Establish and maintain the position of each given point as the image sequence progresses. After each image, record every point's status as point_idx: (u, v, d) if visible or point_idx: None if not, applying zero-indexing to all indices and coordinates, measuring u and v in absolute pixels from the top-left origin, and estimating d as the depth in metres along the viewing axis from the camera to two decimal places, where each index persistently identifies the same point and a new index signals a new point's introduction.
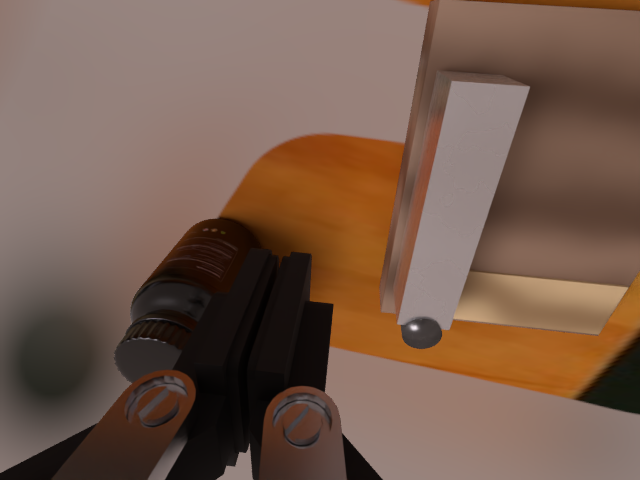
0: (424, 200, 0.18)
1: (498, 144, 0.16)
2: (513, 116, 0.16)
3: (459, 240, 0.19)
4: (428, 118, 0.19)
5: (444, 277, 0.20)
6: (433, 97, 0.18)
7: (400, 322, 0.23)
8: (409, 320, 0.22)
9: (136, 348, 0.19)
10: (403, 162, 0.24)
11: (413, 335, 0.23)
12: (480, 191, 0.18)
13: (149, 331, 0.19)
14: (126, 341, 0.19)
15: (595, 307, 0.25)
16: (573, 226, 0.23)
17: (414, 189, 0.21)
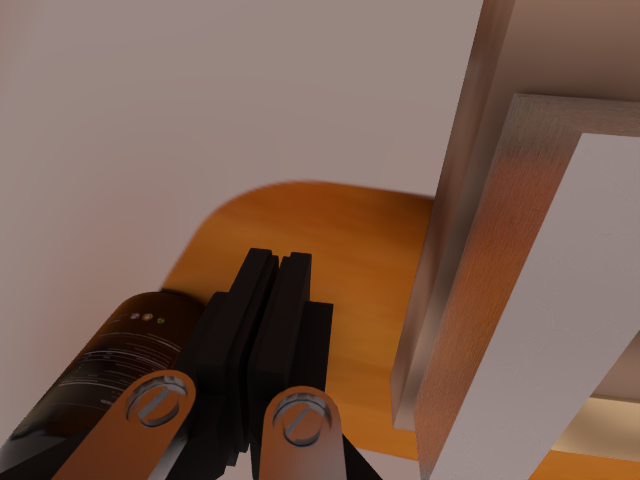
0: (486, 342, 0.10)
1: None
2: None
3: (545, 404, 0.10)
4: (490, 178, 0.11)
5: (509, 448, 0.12)
6: (505, 144, 0.10)
7: None
8: None
9: None
10: (432, 227, 0.15)
11: None
12: (602, 336, 0.09)
13: None
14: None
15: None
16: None
17: (456, 289, 0.12)
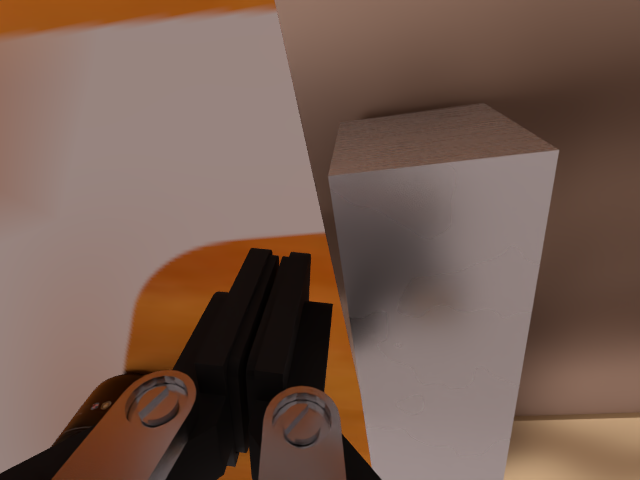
0: None
1: (501, 294, 0.06)
2: (526, 230, 0.06)
3: (463, 463, 0.09)
4: None
5: None
6: None
7: None
8: None
9: None
10: None
11: None
12: (483, 384, 0.07)
13: None
14: None
15: None
16: None
17: None
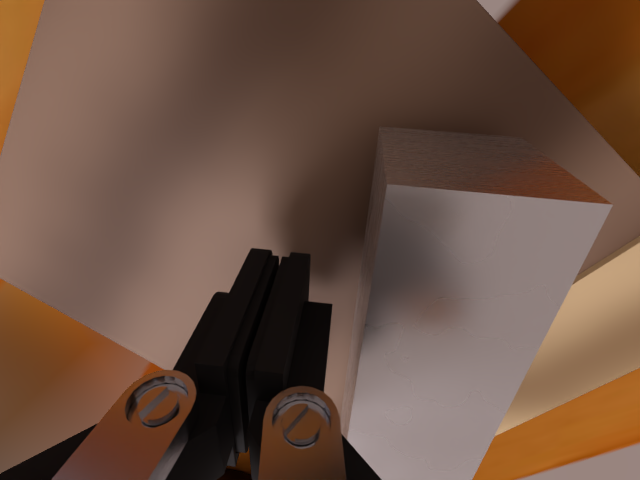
0: (351, 409, 0.08)
1: (517, 327, 0.06)
2: (559, 272, 0.06)
3: (431, 476, 0.09)
4: (368, 219, 0.09)
5: None
6: (373, 182, 0.09)
7: None
8: None
9: None
10: None
11: None
12: (473, 407, 0.08)
13: None
14: None
15: None
16: None
17: (352, 336, 0.11)
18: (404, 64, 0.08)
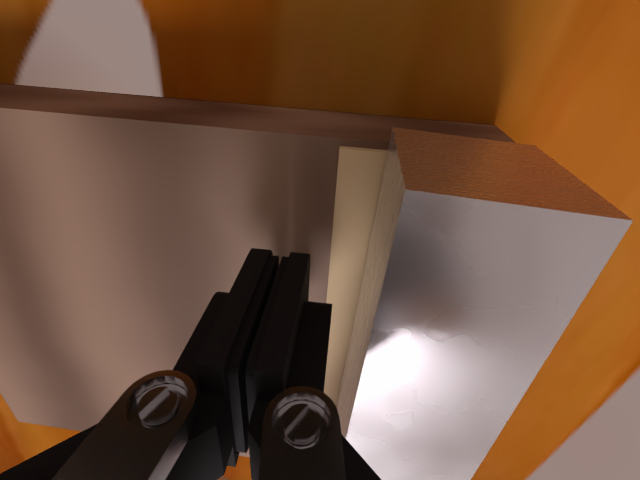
0: (351, 411, 0.08)
1: (525, 337, 0.06)
2: (572, 286, 0.06)
3: None
4: (375, 220, 0.09)
5: None
6: (383, 184, 0.09)
7: None
8: None
9: None
10: None
11: None
12: (474, 414, 0.08)
13: None
14: None
15: None
16: (208, 282, 0.12)
17: (352, 336, 0.11)
18: (71, 175, 0.11)
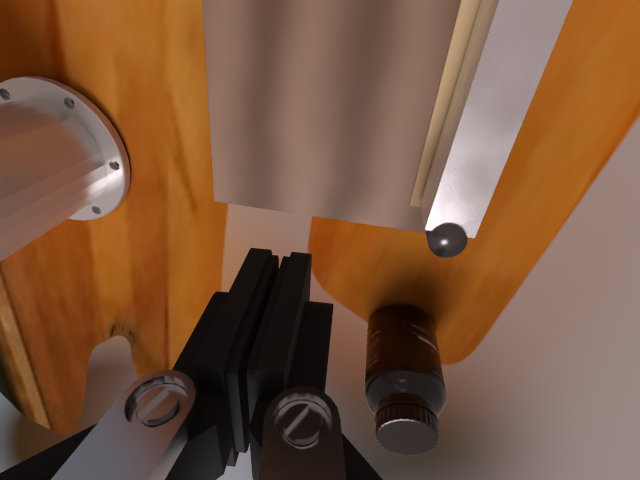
0: (468, 92, 0.19)
1: (547, 32, 0.17)
2: (565, 2, 0.17)
3: (496, 138, 0.20)
4: (476, 20, 0.20)
5: (477, 178, 0.21)
6: None
7: (428, 227, 0.23)
8: (437, 225, 0.23)
9: (385, 440, 0.28)
10: None
11: (439, 242, 0.24)
12: (523, 84, 0.19)
13: (376, 427, 0.28)
14: (379, 442, 0.28)
15: None
16: (375, 75, 0.23)
17: (454, 96, 0.22)
18: (322, 3, 0.22)
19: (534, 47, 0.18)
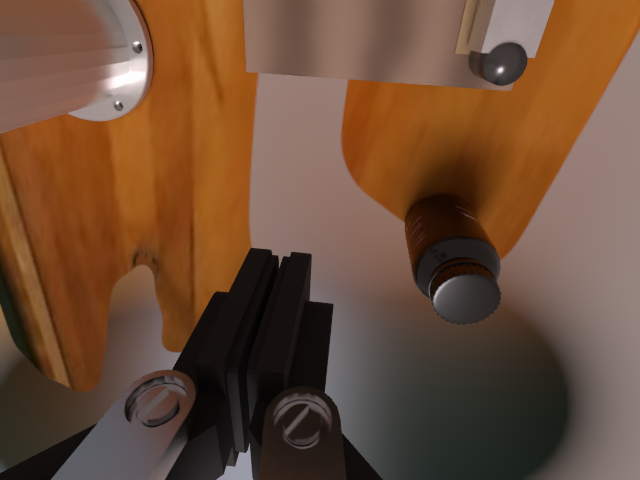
0: None
1: None
2: None
3: None
4: None
5: None
6: None
7: (485, 50, 0.22)
8: (495, 45, 0.22)
9: (442, 306, 0.27)
10: None
11: (497, 65, 0.22)
12: None
13: (431, 294, 0.27)
14: (435, 310, 0.27)
15: None
16: None
17: None
18: None
19: None
